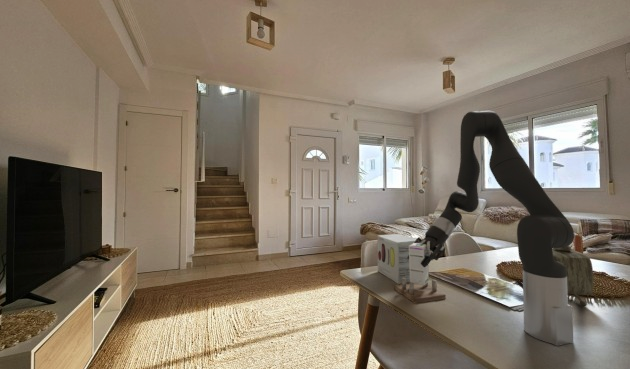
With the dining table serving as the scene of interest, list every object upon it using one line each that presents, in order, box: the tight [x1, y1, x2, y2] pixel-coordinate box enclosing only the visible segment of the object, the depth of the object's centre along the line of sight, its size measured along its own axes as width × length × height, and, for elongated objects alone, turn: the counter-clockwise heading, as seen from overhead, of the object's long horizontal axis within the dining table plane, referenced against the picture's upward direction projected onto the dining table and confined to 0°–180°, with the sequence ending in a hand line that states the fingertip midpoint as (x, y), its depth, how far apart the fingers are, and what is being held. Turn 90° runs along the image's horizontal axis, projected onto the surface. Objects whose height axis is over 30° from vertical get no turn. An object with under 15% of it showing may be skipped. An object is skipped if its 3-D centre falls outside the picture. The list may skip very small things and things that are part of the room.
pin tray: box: [394, 278, 447, 304], centre depth 98 cm, size 13×13×6 cm
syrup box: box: [409, 243, 430, 285], centre depth 99 cm, size 6×6×14 cm
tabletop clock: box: [552, 245, 594, 307], centre depth 93 cm, size 14×9×25 cm, turn 168°
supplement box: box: [376, 233, 417, 285], centre depth 119 cm, size 17×13×18 cm
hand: (415, 262), depth 98 cm, fingers closed on syrup box, 7 cm apart
